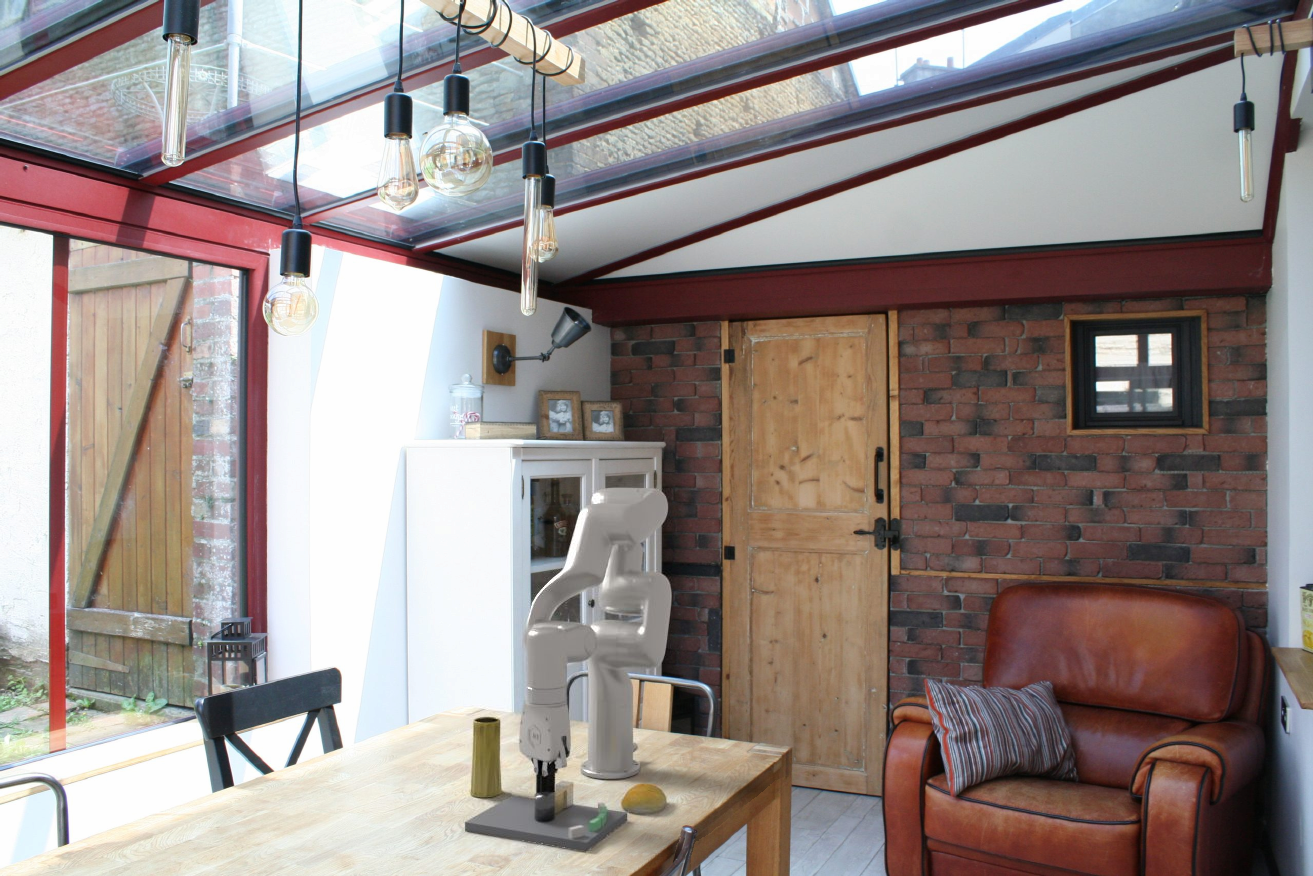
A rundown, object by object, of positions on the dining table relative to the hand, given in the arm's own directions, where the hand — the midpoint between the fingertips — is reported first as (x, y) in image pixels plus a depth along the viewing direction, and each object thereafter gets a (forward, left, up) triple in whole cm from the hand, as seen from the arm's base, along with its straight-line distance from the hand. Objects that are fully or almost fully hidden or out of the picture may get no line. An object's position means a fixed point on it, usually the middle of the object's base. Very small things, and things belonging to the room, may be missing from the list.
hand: (545, 795), depth 182 cm
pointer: (+4, +4, -1) cm, 5 cm away
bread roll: (-11, +15, -4) cm, 19 cm away
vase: (-5, -16, -3) cm, 17 cm away
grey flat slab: (+6, +4, -3) cm, 8 cm away
